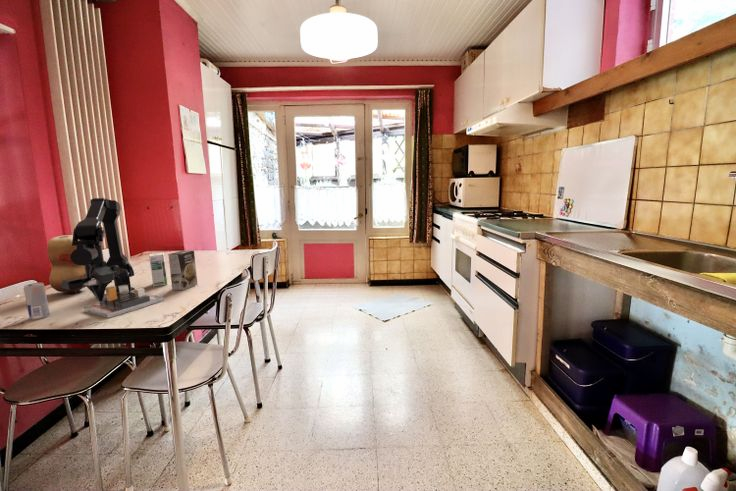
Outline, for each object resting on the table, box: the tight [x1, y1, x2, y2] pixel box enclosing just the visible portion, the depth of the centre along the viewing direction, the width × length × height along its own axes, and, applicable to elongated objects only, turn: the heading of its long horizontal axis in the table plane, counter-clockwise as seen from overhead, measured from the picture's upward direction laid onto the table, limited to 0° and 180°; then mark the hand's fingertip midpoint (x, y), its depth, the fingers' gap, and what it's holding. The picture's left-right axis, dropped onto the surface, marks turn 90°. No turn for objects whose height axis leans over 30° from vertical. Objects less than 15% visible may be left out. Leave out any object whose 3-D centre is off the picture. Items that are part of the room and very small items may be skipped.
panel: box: [83, 285, 164, 319], centre depth 134 cm, size 16×20×6 cm
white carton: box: [23, 282, 50, 321], centre depth 124 cm, size 5×5×12 cm
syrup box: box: [148, 252, 168, 287], centre depth 162 cm, size 6×6×14 cm
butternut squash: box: [46, 234, 92, 294], centre depth 151 cm, size 14×13×25 cm
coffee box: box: [168, 250, 199, 291], centre depth 157 cm, size 9×6×16 cm
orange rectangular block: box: [105, 285, 117, 301], centre depth 130 cm, size 2×3×5 cm
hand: (100, 301), depth 127 cm, fingers closed
